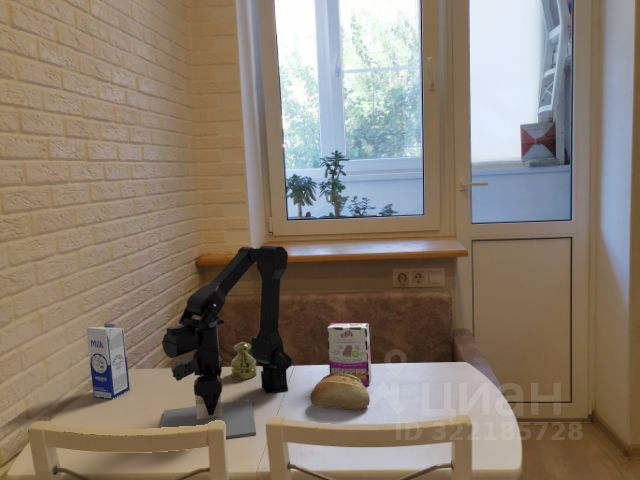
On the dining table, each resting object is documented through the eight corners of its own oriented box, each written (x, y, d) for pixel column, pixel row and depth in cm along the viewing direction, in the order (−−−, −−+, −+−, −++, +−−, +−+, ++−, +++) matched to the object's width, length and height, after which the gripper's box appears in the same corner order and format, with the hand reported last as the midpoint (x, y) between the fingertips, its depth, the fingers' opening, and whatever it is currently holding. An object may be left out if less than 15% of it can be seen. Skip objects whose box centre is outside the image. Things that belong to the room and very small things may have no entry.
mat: (251, 401, 138) (251, 399, 138) (256, 434, 120) (256, 432, 120) (164, 412, 134) (164, 410, 134) (156, 448, 116) (156, 445, 116)
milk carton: (93, 396, 146) (85, 326, 143) (111, 387, 152) (104, 319, 149) (113, 399, 143) (105, 328, 140) (130, 389, 149) (123, 321, 147)
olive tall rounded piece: (261, 371, 158) (258, 339, 157) (249, 381, 151) (247, 347, 150) (239, 369, 161) (236, 338, 159) (227, 379, 154) (224, 346, 152)
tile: (222, 413, 130) (219, 382, 129) (222, 416, 129) (219, 385, 128) (197, 416, 129) (194, 385, 128) (197, 419, 128) (194, 388, 127)
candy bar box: (371, 378, 149) (369, 322, 147) (369, 386, 144) (367, 328, 142) (333, 377, 151) (330, 321, 149) (329, 384, 146) (326, 327, 144)
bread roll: (314, 397, 139) (312, 368, 138) (370, 398, 136) (369, 369, 135) (308, 414, 129) (306, 383, 128) (369, 415, 127) (367, 384, 126)
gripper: (175, 337, 134) (180, 395, 136) (168, 362, 116) (174, 429, 118) (219, 332, 136) (223, 390, 138) (219, 357, 118) (224, 422, 120)
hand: (211, 406), depth 129 cm, fingers open, 9 cm apart
